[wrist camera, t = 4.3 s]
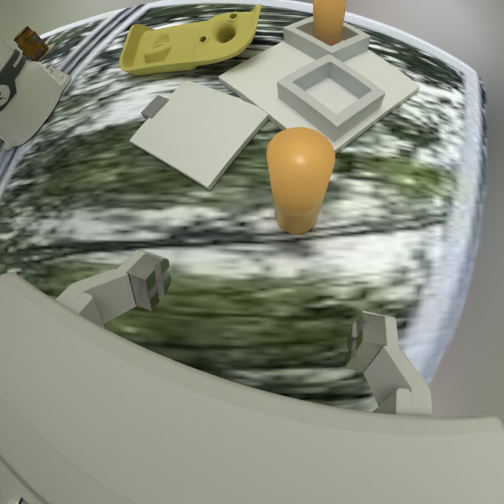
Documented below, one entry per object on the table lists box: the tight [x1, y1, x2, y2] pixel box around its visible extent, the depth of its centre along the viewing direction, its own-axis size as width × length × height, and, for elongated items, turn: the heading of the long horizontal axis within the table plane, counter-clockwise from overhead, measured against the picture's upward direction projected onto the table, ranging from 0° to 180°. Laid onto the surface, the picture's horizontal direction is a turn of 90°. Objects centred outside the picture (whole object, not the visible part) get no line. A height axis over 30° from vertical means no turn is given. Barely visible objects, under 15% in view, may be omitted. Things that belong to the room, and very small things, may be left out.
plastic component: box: [119, 4, 262, 76], centre depth 28 cm, size 20×7×10 cm
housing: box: [218, 0, 420, 154], centre depth 20 cm, size 16×18×11 cm
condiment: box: [14, 26, 55, 62], centre depth 36 cm, size 7×8×12 cm
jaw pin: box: [267, 127, 335, 234], centre depth 18 cm, size 4×4×10 cm
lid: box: [129, 80, 269, 190], centre depth 26 cm, size 14×10×1 cm
